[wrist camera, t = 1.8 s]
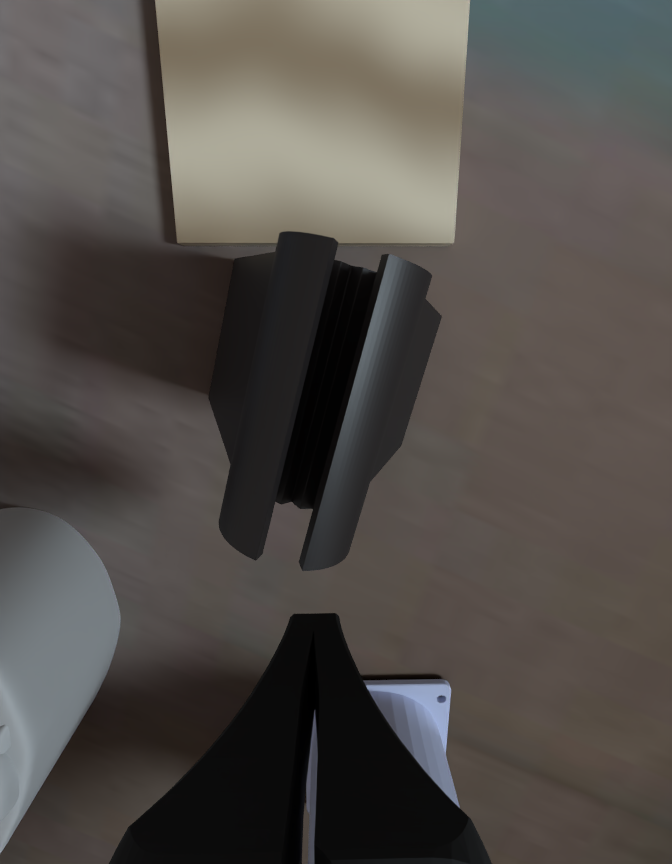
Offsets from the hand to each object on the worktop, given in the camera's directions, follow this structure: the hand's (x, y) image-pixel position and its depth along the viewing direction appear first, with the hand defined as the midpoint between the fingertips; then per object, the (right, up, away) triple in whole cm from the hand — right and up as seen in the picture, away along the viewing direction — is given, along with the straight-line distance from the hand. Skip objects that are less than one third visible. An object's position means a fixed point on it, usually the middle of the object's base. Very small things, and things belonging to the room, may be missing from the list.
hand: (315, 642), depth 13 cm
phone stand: (0, +10, +7) cm, 12 cm away
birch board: (0, +19, +4) cm, 20 cm away
